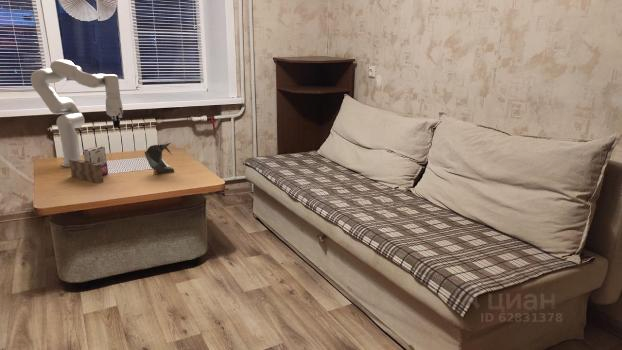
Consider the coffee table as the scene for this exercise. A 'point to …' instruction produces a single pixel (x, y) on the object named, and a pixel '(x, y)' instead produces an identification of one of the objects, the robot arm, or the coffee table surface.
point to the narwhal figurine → (157, 158)
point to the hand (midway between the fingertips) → (116, 126)
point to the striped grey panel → (86, 170)
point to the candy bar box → (97, 157)
